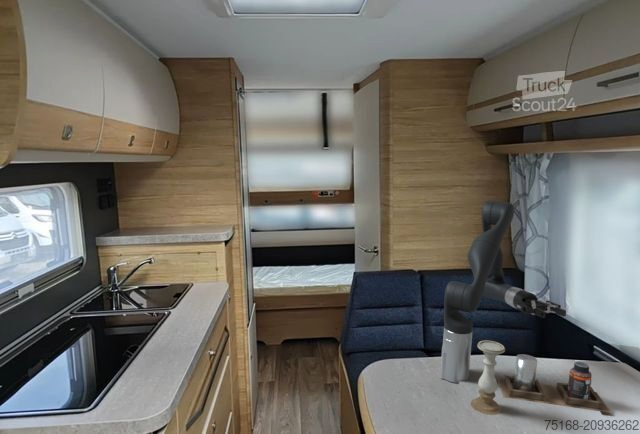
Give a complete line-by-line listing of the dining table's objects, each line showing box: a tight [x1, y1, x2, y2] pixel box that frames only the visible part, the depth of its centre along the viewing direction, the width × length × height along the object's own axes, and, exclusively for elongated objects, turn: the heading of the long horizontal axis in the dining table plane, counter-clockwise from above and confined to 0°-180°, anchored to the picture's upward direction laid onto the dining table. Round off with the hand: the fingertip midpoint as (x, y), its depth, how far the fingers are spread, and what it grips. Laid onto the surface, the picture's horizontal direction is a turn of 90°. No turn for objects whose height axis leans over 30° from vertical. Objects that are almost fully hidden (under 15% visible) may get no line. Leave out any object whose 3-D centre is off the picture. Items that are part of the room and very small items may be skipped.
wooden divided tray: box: [497, 374, 612, 416], centre depth 140 cm, size 30×12×3 cm, turn 76°
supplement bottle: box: [567, 361, 593, 400], centre depth 138 cm, size 6×6×11 cm
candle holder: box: [470, 340, 506, 416], centre depth 131 cm, size 9×9×20 cm
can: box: [513, 353, 538, 392], centre depth 141 cm, size 6×6×11 cm
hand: (555, 314), depth 149 cm, fingers open, 8 cm apart
